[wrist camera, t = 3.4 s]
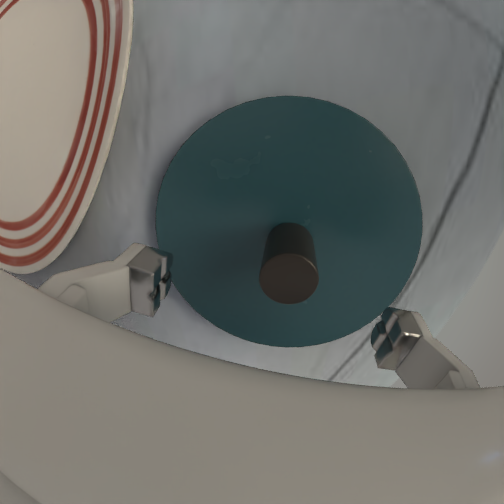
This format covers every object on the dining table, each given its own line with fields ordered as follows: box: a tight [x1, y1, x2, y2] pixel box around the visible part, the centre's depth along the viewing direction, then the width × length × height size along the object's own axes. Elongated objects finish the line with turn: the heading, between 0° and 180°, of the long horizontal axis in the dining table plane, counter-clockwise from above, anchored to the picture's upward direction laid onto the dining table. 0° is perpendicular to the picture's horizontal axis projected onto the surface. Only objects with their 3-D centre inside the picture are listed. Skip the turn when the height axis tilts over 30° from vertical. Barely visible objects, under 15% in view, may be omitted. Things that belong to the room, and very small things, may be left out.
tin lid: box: [156, 96, 422, 347], centre depth 13 cm, size 15×15×5 cm
